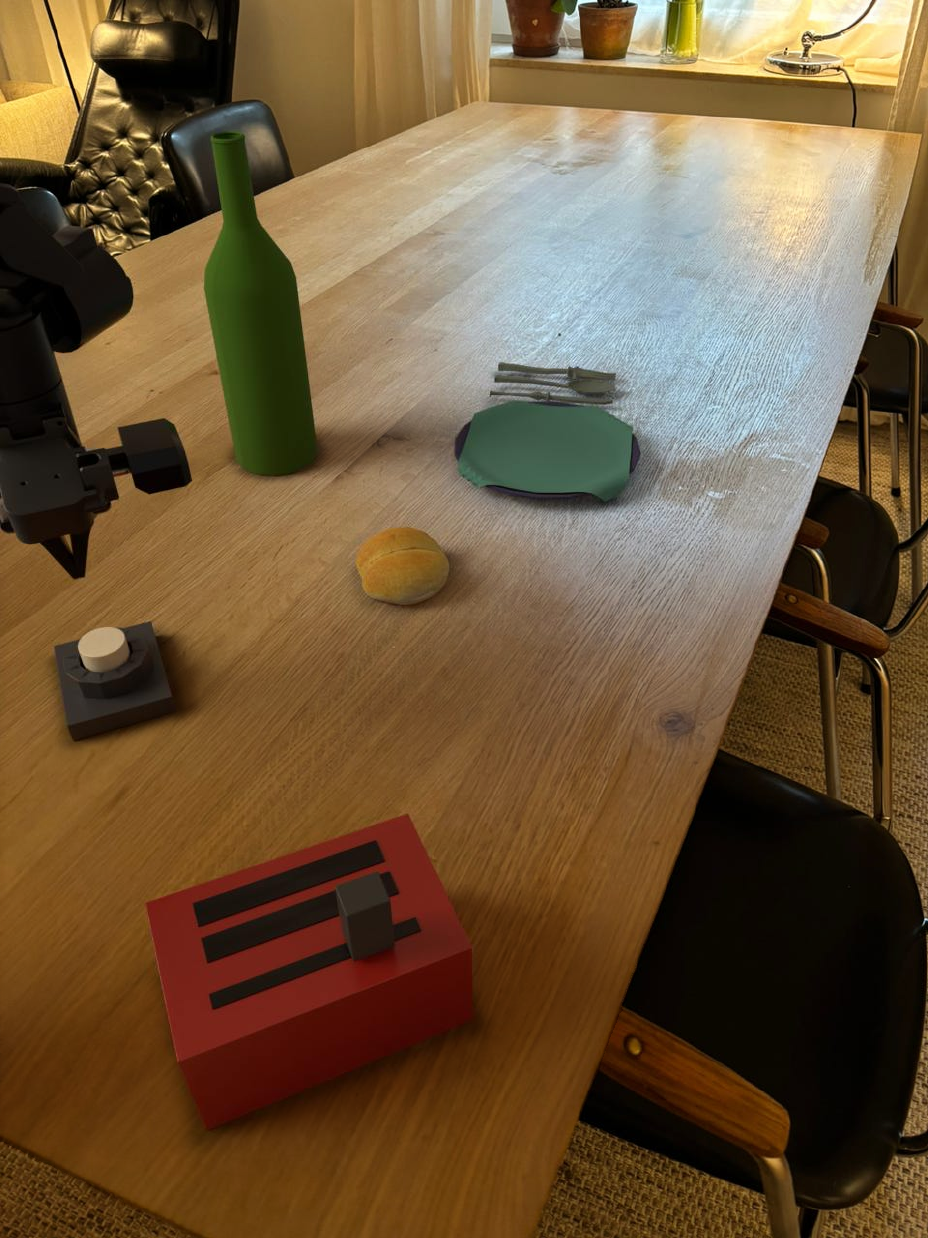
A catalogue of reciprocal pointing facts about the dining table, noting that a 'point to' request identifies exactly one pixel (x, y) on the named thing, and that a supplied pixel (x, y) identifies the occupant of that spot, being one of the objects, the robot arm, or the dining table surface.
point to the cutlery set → (549, 441)
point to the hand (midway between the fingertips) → (79, 575)
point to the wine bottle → (257, 328)
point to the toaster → (305, 970)
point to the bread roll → (402, 566)
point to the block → (114, 686)
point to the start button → (104, 649)
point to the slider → (365, 916)
